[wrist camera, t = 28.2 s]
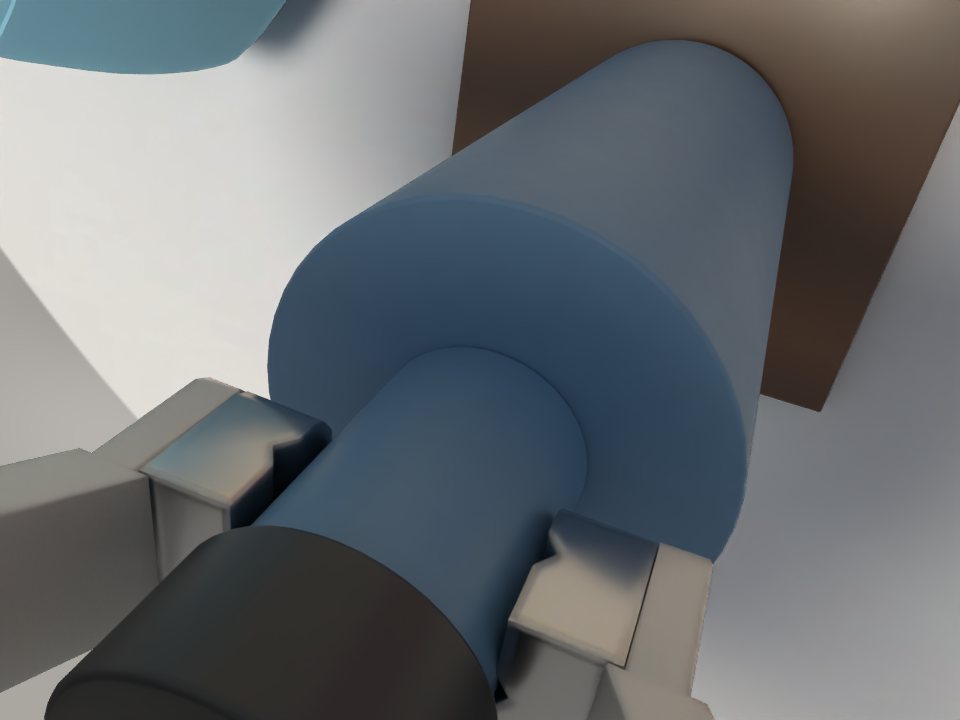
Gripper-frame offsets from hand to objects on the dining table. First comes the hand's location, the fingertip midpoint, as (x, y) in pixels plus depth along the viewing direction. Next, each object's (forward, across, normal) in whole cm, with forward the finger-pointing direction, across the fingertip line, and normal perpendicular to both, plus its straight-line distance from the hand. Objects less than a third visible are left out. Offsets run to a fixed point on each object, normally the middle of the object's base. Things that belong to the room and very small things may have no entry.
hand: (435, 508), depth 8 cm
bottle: (+14, +4, 0) cm, 14 cm away
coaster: (+16, 0, 0) cm, 16 cm away
